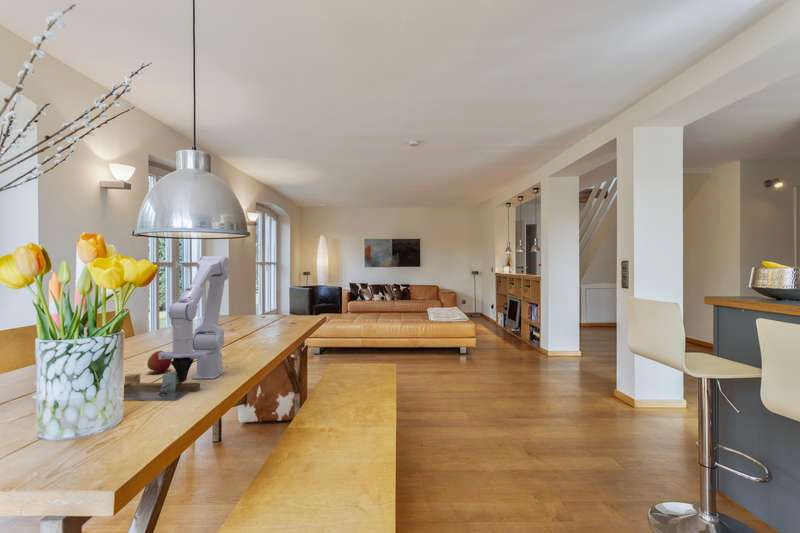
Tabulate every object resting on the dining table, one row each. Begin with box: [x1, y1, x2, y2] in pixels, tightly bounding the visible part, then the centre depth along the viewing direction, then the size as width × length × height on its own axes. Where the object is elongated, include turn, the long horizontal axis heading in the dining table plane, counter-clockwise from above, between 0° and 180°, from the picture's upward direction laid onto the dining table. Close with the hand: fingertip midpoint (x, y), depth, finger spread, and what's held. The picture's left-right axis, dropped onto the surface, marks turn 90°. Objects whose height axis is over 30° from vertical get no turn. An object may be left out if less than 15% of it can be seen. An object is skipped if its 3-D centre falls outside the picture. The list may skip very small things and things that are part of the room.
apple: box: [147, 350, 173, 374], centre depth 151 cm, size 8×8×8 cm
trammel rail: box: [123, 373, 201, 393], centre depth 128 cm, size 8×24×5 cm, turn 92°
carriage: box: [160, 371, 183, 393], centre depth 129 cm, size 9×4×5 cm, turn 2°
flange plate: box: [123, 390, 189, 402], centre depth 125 cm, size 7×22×1 cm, turn 92°
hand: (182, 381), depth 131 cm, fingers closed
